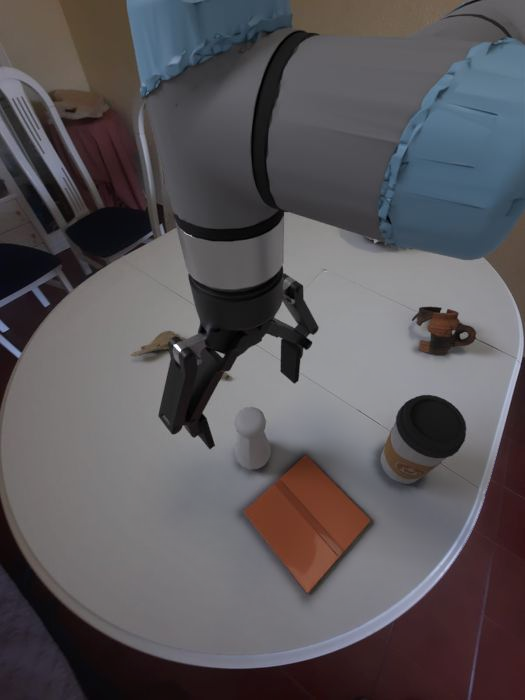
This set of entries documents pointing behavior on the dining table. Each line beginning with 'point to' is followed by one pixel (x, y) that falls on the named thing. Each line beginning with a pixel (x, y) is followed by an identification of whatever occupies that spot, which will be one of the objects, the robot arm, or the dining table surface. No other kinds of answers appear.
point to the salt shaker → (251, 438)
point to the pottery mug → (443, 330)
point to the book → (307, 521)
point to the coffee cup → (422, 438)
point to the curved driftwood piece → (162, 345)
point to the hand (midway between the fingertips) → (250, 406)
